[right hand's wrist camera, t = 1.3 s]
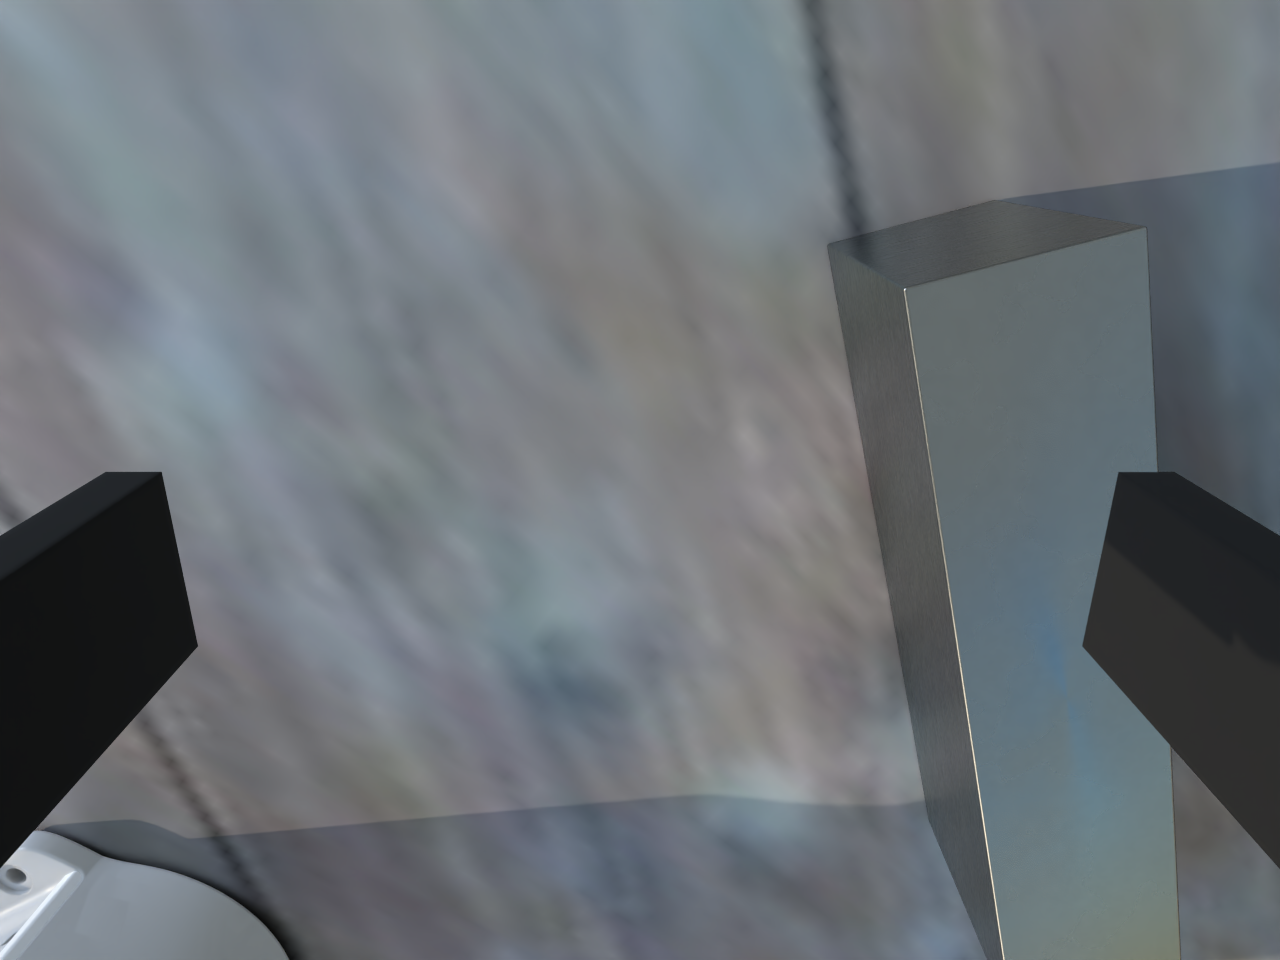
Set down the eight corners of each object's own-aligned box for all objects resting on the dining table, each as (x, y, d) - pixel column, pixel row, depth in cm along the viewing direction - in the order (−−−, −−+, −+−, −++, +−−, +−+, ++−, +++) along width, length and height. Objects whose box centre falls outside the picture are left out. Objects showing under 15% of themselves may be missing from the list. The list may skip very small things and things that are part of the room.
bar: (826, 244, 29) (903, 288, 20) (996, 199, 29) (1148, 225, 20) (928, 821, 38) (1012, 1020, 29) (1059, 795, 37) (1183, 990, 29)
